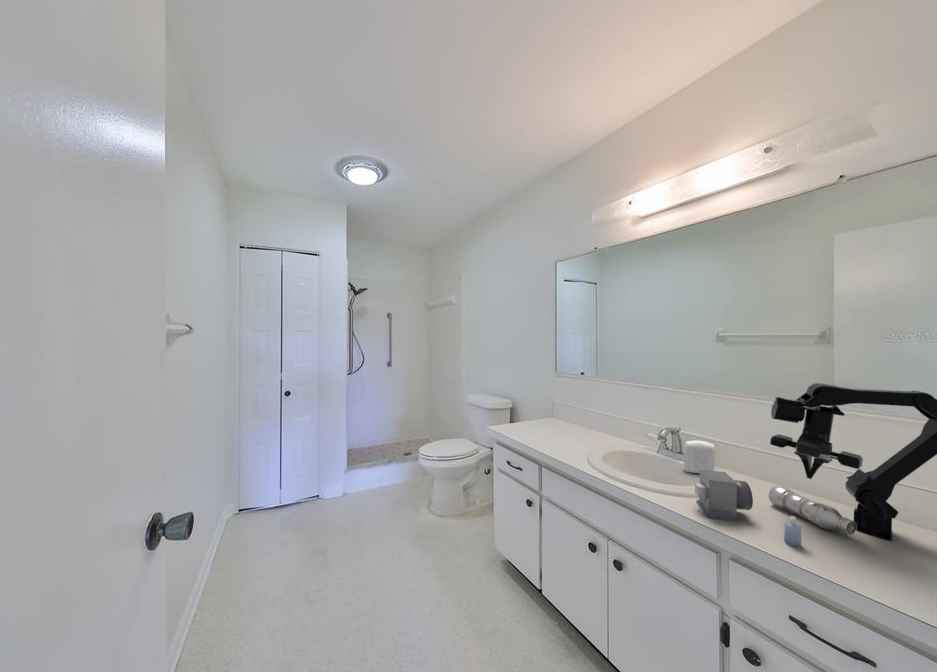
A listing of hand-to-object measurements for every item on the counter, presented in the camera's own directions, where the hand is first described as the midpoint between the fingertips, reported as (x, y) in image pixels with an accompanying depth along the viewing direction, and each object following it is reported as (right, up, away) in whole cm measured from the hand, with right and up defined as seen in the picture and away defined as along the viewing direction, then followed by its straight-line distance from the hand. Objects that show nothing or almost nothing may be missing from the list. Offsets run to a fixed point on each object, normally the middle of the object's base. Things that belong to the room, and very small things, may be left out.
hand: (809, 478), depth 103 cm
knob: (-24, -10, +4) cm, 26 cm away
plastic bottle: (-3, -9, +9) cm, 13 cm away
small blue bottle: (-16, -12, -12) cm, 24 cm away
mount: (-25, -12, +4) cm, 28 cm away
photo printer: (-11, -12, +33) cm, 37 cm away
